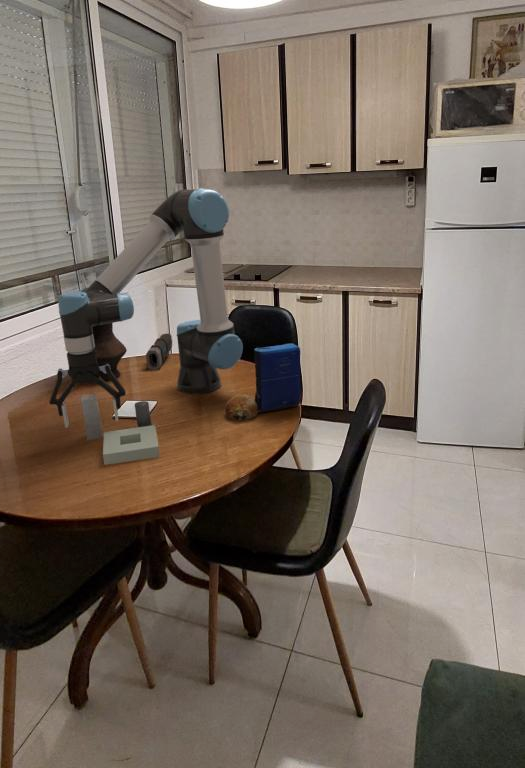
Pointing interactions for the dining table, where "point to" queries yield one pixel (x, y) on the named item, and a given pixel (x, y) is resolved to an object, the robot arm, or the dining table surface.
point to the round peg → (142, 414)
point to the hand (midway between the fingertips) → (92, 422)
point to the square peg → (91, 416)
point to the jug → (107, 349)
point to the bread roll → (241, 408)
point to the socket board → (130, 445)
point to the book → (277, 377)
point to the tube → (159, 351)
